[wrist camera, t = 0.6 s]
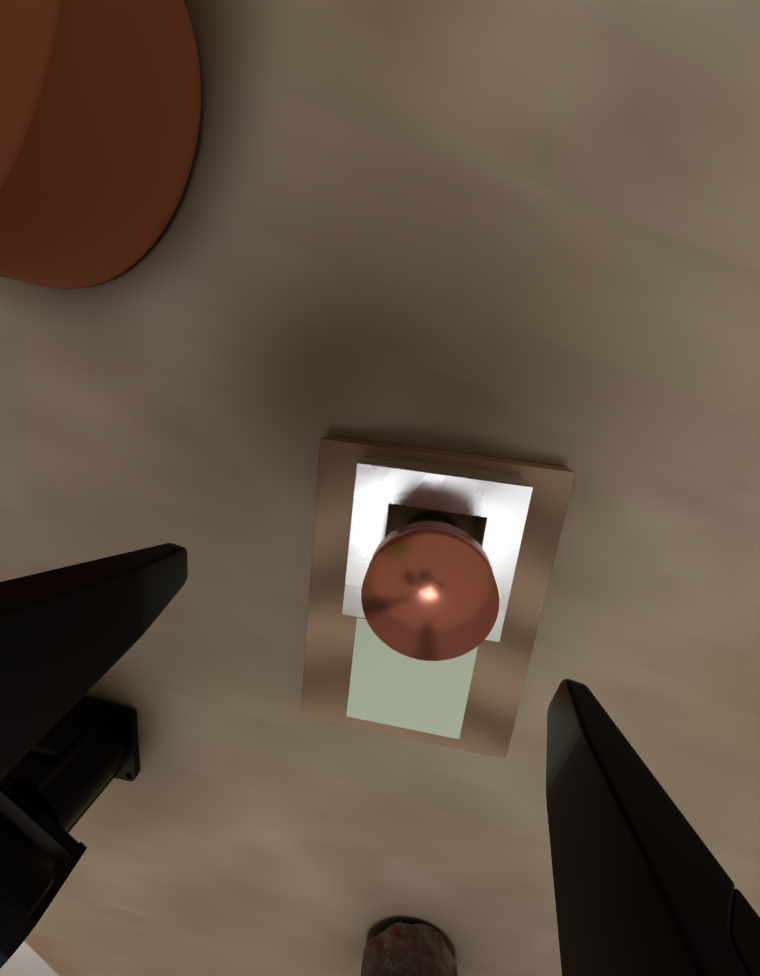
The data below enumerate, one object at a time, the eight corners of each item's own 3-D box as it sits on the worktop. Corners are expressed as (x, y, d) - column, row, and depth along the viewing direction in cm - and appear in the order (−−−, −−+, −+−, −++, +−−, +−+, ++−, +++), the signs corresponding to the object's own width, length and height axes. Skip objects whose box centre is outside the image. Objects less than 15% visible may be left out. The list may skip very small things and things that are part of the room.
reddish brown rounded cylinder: (471, 587, 22) (485, 671, 16) (378, 572, 23) (354, 647, 16) (488, 497, 21) (511, 549, 14) (389, 483, 21) (368, 527, 15)
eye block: (492, 614, 22) (499, 642, 20) (352, 590, 23) (342, 614, 21) (521, 475, 20) (532, 487, 18) (366, 454, 21) (357, 463, 19)
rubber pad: (459, 735, 25) (459, 739, 24) (347, 712, 25) (346, 716, 25) (478, 636, 23) (479, 639, 23) (358, 615, 24) (356, 617, 23)
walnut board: (501, 738, 26) (505, 758, 25) (307, 698, 27) (300, 715, 26) (565, 466, 21) (575, 472, 20) (328, 435, 23) (320, 438, 21)
